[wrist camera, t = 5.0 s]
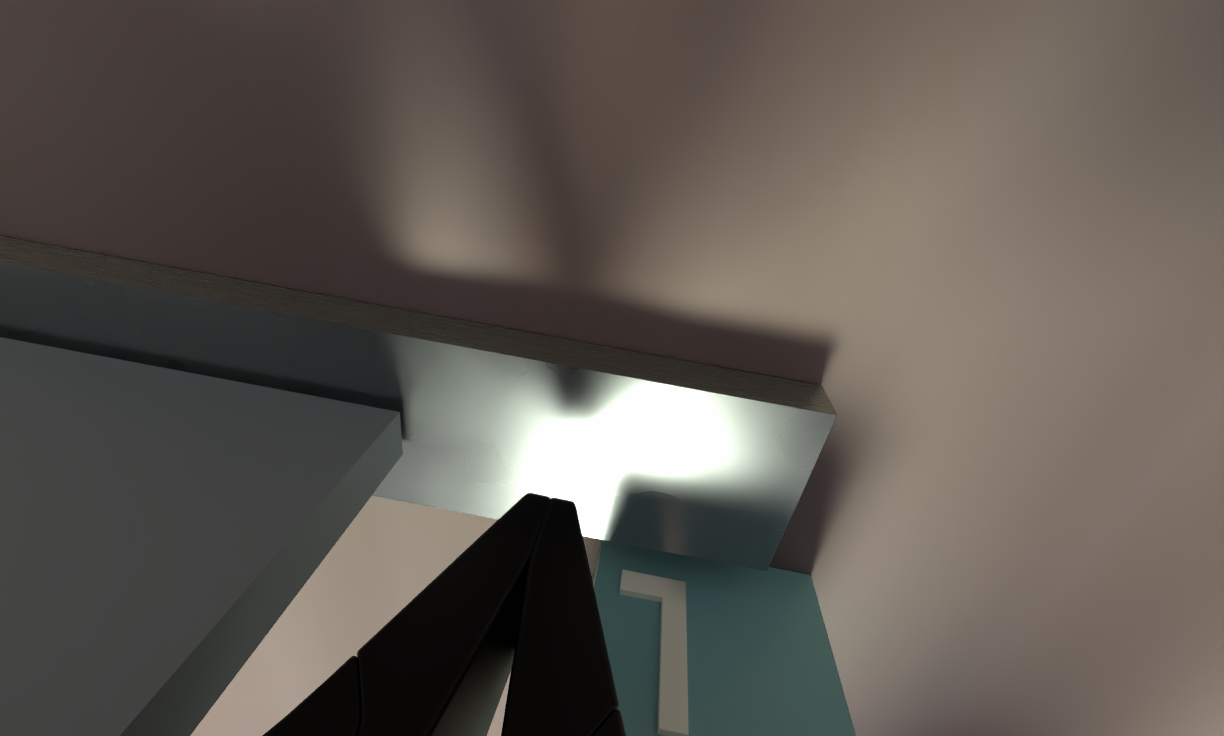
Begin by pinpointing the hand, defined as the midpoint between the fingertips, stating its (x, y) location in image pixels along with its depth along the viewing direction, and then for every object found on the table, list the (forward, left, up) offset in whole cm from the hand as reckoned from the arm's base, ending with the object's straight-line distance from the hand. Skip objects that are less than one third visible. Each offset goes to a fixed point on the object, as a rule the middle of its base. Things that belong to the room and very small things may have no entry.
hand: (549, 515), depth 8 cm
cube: (-5, +4, -3) cm, 7 cm away
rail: (+6, +2, -3) cm, 7 cm away
